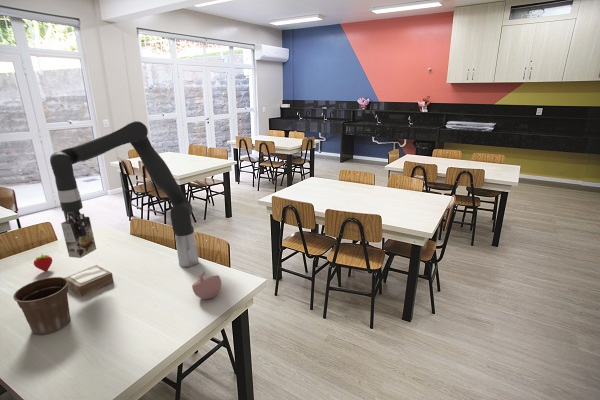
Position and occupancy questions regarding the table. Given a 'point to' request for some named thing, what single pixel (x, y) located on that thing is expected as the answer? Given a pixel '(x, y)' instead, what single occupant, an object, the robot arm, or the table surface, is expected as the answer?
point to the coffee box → (78, 239)
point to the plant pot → (45, 304)
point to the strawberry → (43, 262)
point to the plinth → (89, 280)
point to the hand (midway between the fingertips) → (78, 234)
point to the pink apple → (207, 286)
